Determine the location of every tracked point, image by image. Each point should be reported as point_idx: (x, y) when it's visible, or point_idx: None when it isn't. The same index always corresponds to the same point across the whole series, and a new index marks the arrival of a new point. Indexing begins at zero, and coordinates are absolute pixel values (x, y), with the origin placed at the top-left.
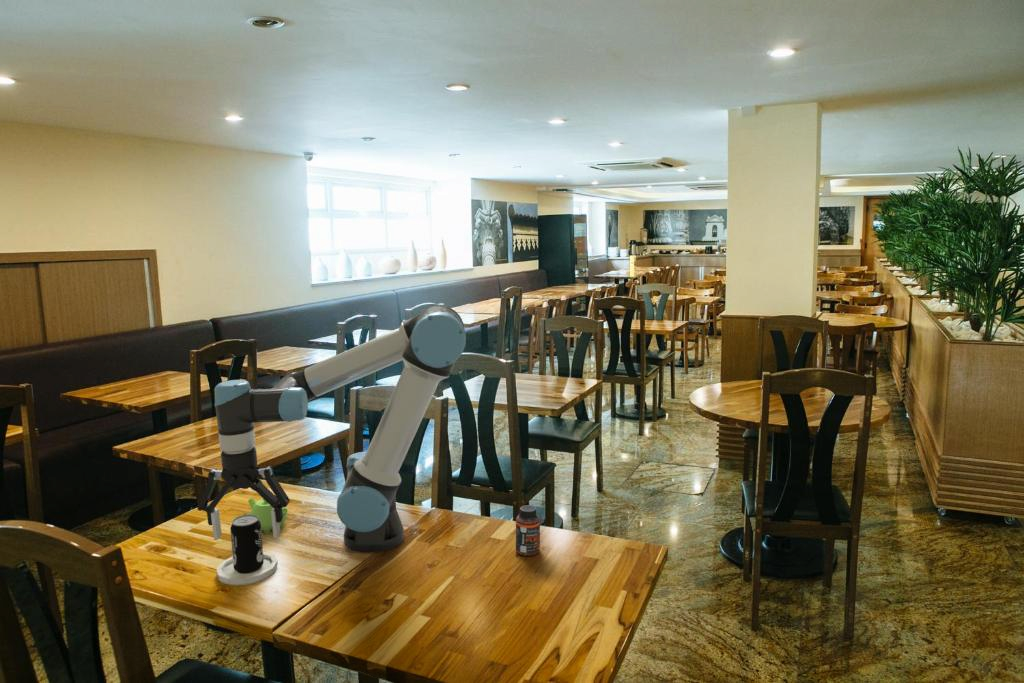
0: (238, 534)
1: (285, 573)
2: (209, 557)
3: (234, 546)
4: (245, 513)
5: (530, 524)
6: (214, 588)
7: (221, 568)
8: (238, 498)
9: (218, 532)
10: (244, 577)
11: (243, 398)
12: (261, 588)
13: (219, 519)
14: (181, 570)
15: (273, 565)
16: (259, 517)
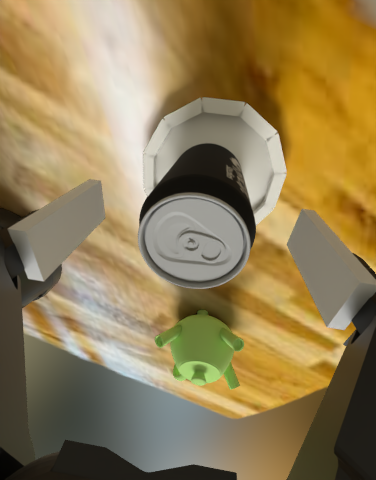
0: (215, 175)
1: (122, 149)
2: None
3: (236, 172)
4: (237, 349)
5: None
6: (285, 92)
7: (273, 176)
8: (262, 398)
9: (301, 235)
10: (204, 106)
11: None
12: (157, 70)
13: (308, 281)
14: (368, 209)
15: (145, 165)
16: (210, 337)
